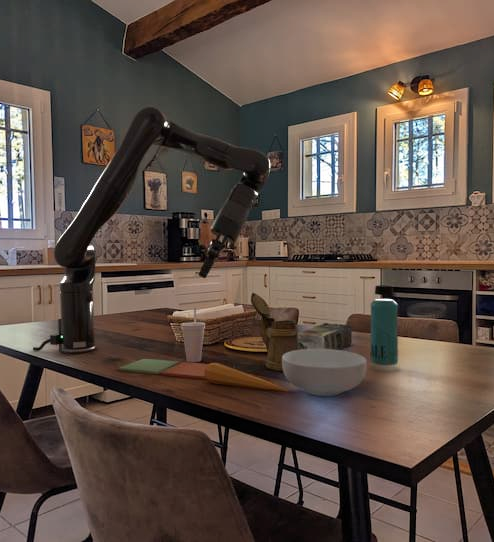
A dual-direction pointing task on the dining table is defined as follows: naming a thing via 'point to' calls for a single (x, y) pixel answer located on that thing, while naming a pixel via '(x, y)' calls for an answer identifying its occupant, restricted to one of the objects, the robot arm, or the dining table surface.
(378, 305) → the beverage bottle
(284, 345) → the wooden mug
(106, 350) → the dining table surface
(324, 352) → the cereal bowl
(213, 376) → the carrot
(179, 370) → the terracotta mat
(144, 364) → the green mat
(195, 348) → the smoothie
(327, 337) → the grey patterned box
